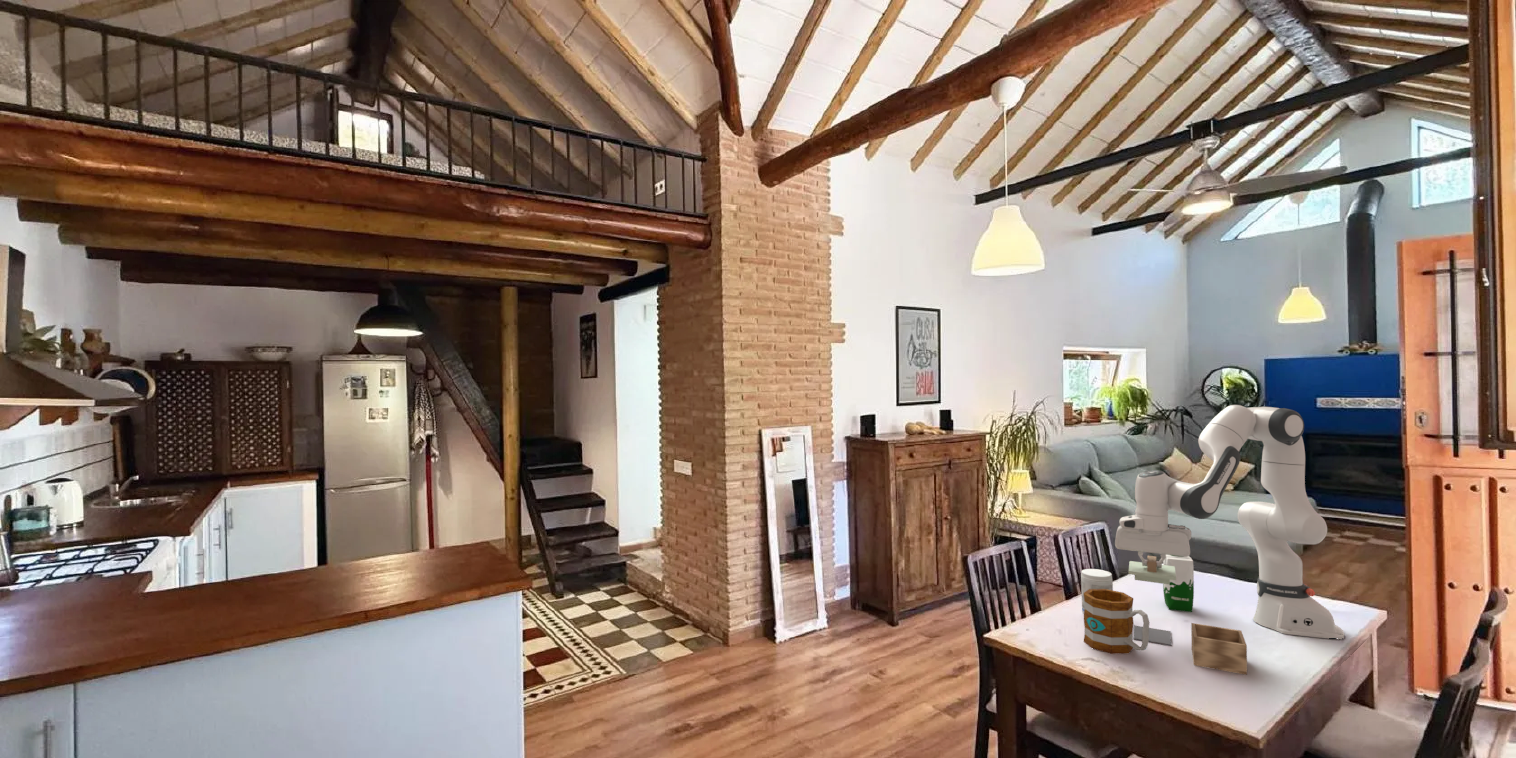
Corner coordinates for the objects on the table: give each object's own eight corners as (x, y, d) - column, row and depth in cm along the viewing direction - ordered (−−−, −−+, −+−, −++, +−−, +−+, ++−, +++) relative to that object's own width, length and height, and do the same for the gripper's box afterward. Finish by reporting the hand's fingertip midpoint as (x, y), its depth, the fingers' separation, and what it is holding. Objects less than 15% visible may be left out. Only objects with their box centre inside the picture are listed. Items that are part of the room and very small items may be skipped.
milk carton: (1190, 605, 231) (1189, 548, 230) (1196, 613, 222) (1195, 555, 222) (1161, 601, 234) (1161, 546, 234) (1166, 610, 226) (1165, 552, 225)
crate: (1241, 658, 187) (1241, 630, 187) (1246, 674, 177) (1246, 645, 177) (1191, 649, 194) (1191, 622, 194) (1194, 665, 183) (1193, 636, 183)
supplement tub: (1119, 616, 220) (1118, 573, 220) (1103, 623, 215) (1103, 578, 215) (1091, 608, 228) (1090, 566, 228) (1075, 614, 223) (1075, 571, 223)
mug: (1073, 640, 201) (1073, 592, 201) (1104, 633, 207) (1104, 586, 206) (1132, 666, 183) (1131, 613, 183) (1164, 657, 188) (1164, 606, 188)
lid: (1174, 575, 206) (1174, 556, 206) (1176, 586, 195) (1176, 566, 195) (1129, 570, 212) (1129, 551, 212) (1128, 580, 202) (1128, 561, 202)
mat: (1170, 632, 206) (1170, 631, 206) (1171, 646, 196) (1171, 644, 196) (1134, 626, 212) (1134, 625, 212) (1133, 639, 201) (1133, 638, 201)
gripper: (1190, 524, 201) (1191, 568, 201) (1115, 517, 212) (1115, 559, 212) (1191, 528, 196) (1192, 574, 196) (1114, 521, 206) (1114, 564, 206)
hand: (1151, 566), depth 204 cm, fingers closed on lid, 2 cm apart
